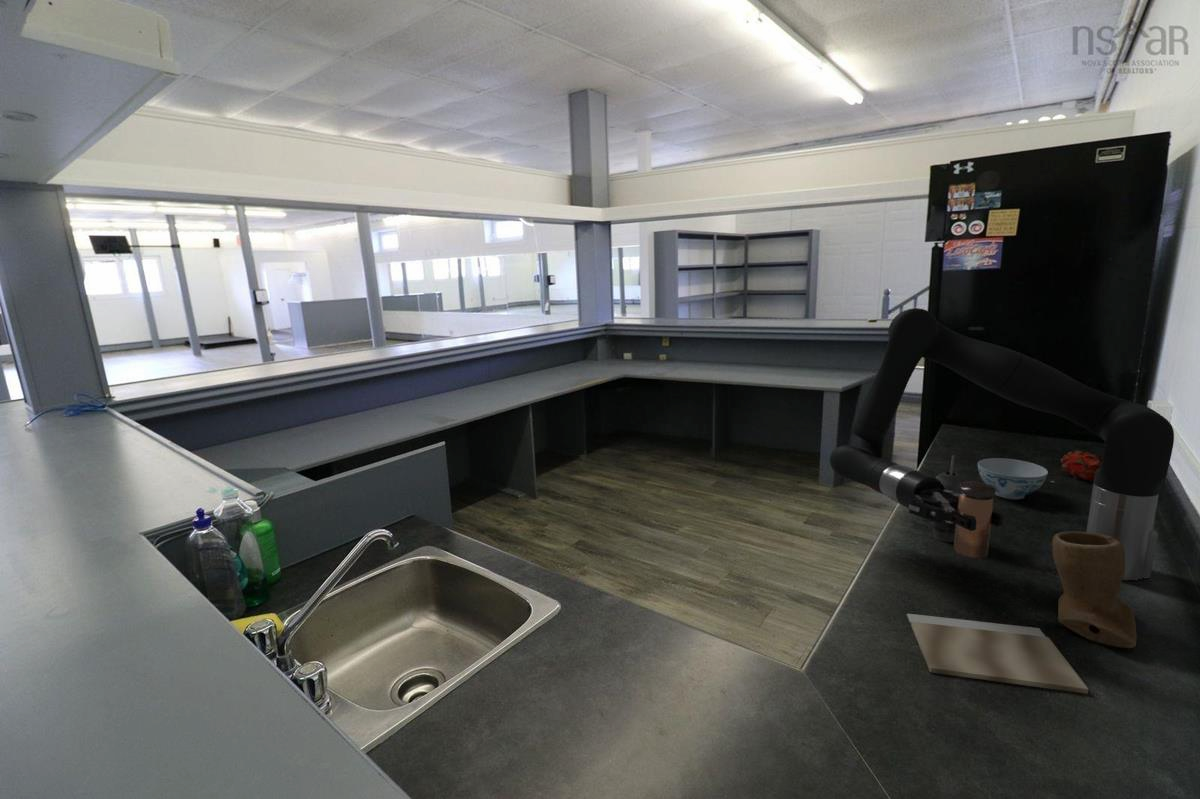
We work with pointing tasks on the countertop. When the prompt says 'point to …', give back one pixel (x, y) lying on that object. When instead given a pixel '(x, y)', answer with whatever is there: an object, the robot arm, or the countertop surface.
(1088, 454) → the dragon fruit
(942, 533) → the beverage cup
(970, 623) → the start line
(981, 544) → the canister
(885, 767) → the countertop surface
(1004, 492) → the chinaware
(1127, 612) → the brown hollow flared piece
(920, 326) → the robot arm
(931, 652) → the board
